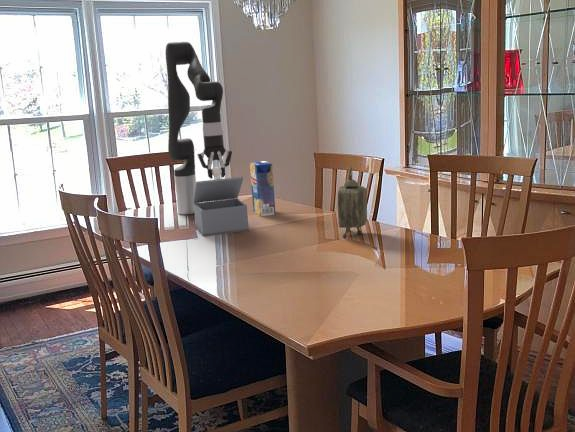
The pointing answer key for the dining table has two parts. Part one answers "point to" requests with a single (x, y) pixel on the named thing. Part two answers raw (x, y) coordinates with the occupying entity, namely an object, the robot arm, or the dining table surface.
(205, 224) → the carton
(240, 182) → the lid flap
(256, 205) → the beverage box
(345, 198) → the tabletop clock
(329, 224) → the dining table surface
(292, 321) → the dining table surface
